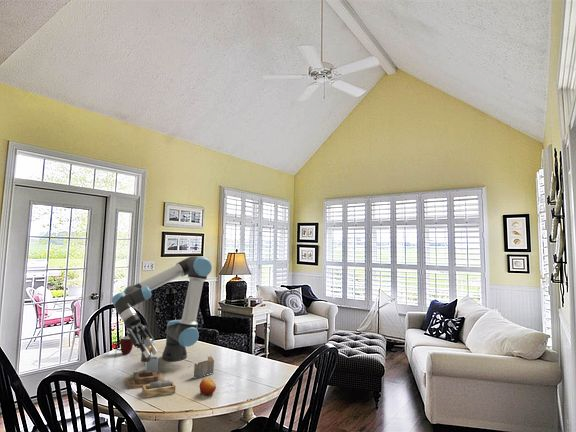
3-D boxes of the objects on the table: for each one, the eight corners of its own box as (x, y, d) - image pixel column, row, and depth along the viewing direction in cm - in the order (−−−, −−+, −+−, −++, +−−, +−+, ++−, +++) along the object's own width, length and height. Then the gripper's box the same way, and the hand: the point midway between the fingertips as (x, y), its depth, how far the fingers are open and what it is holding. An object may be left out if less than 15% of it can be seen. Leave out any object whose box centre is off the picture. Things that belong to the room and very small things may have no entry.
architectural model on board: (209, 373, 201) (210, 355, 202) (213, 374, 199) (214, 356, 200) (193, 377, 193) (194, 359, 193) (196, 379, 191) (197, 360, 192)
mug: (117, 356, 221) (119, 340, 222) (113, 353, 227) (114, 337, 228) (134, 354, 228) (136, 338, 229) (130, 351, 234) (131, 335, 235)
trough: (172, 387, 177) (172, 377, 177) (175, 393, 170) (175, 381, 171) (142, 392, 170) (143, 380, 170) (144, 397, 164) (144, 386, 164)
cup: (155, 368, 203) (156, 356, 203) (157, 372, 197) (158, 359, 198) (144, 370, 200) (145, 357, 200) (146, 373, 194) (147, 360, 195)
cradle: (160, 374, 193) (161, 368, 194) (165, 383, 181) (166, 376, 182) (124, 379, 185) (125, 372, 185) (127, 389, 173) (127, 381, 173)
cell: (149, 358, 187) (151, 336, 188) (151, 361, 183) (153, 338, 184) (140, 359, 185) (142, 336, 186) (141, 362, 181) (143, 339, 182)
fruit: (196, 387, 175) (206, 373, 176) (210, 396, 175) (219, 381, 176) (193, 393, 167) (203, 379, 168) (207, 403, 167) (217, 388, 168)
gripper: (138, 320, 199) (159, 355, 192) (112, 325, 183) (134, 364, 175) (146, 311, 198) (168, 346, 190) (121, 316, 181) (144, 354, 174)
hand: (152, 354), depth 183 cm, fingers closed on cell, 5 cm apart
